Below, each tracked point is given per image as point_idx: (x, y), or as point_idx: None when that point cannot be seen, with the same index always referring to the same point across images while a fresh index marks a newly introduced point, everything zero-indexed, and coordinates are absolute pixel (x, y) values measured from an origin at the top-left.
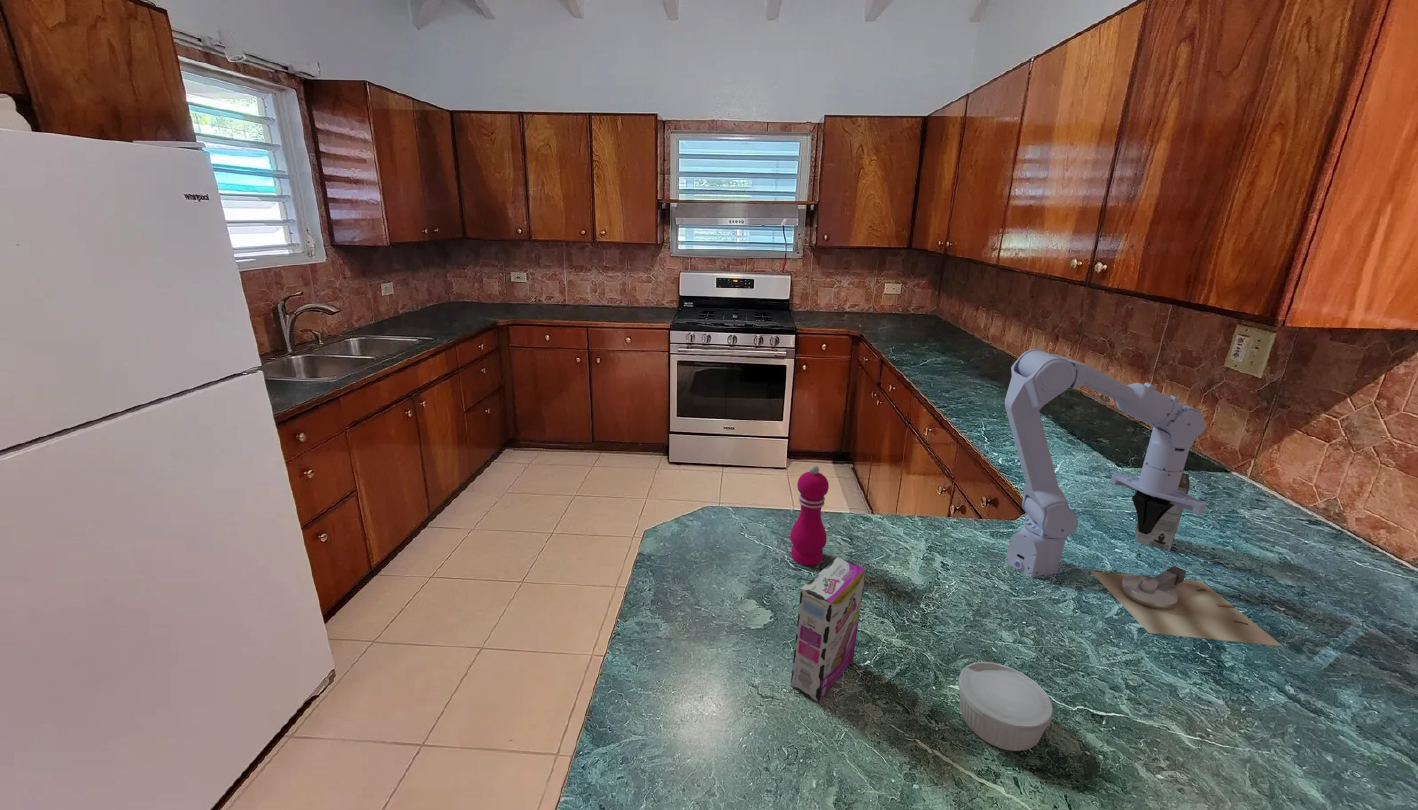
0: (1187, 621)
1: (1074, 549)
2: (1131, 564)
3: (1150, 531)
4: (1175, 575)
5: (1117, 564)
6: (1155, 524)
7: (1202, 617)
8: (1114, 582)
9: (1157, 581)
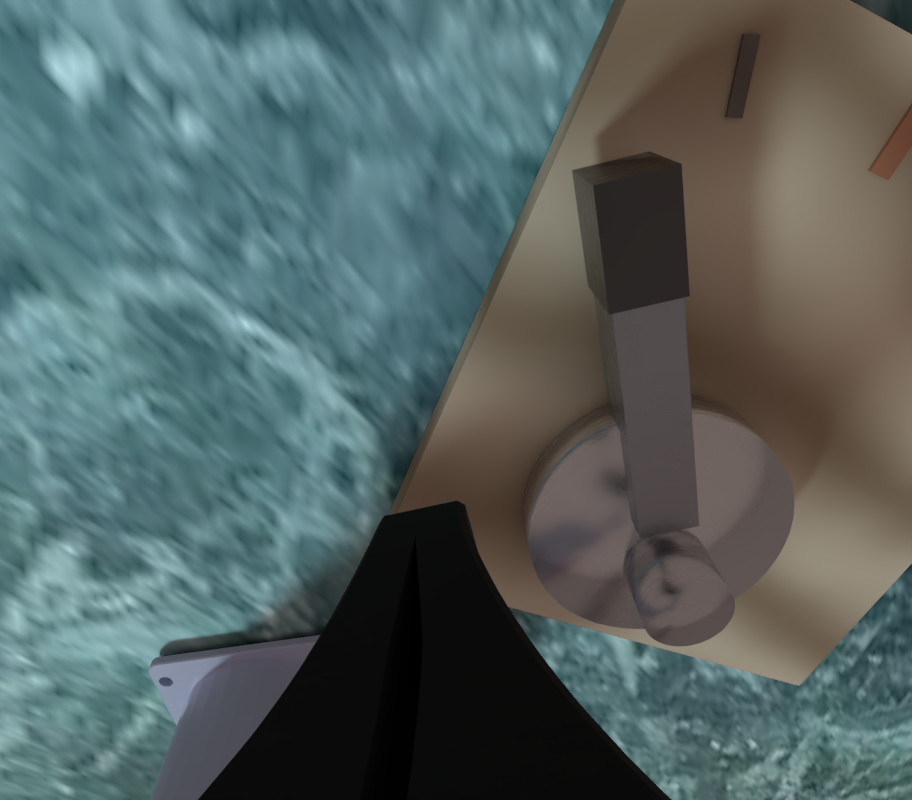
0: (849, 492)
1: (76, 399)
2: (289, 173)
3: (473, 539)
4: (679, 318)
5: (278, 279)
6: (481, 562)
7: (876, 389)
8: (490, 539)
9: (723, 591)
